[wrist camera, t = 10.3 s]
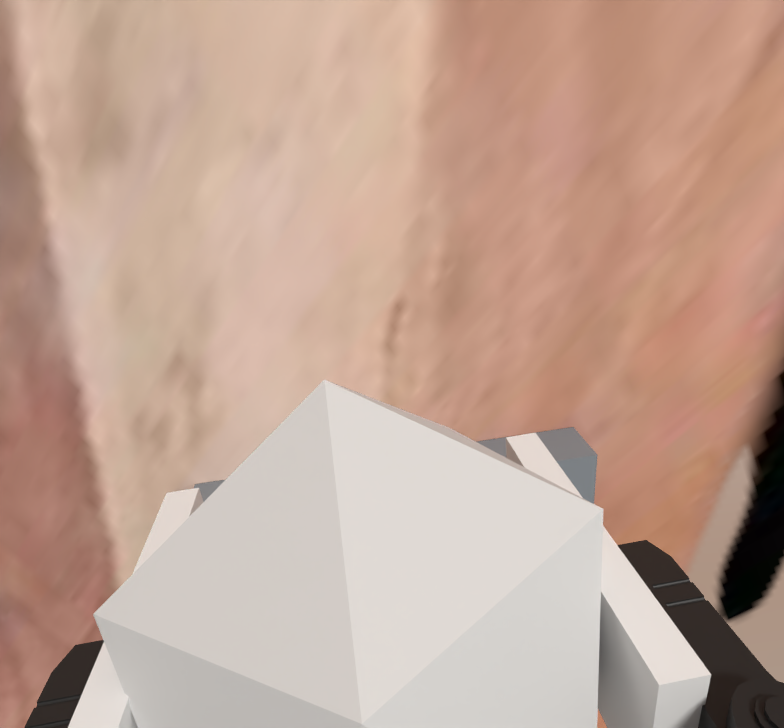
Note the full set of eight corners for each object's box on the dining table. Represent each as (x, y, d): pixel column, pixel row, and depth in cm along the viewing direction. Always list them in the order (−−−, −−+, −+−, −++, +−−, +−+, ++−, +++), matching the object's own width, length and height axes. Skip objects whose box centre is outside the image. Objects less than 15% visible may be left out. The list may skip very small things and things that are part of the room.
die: (224, 622, 16) (465, 1008, 10) (-74, 560, 9) (173, 1645, 3) (412, 419, 17) (712, 662, 12) (282, 230, 10) (865, 604, 5)
